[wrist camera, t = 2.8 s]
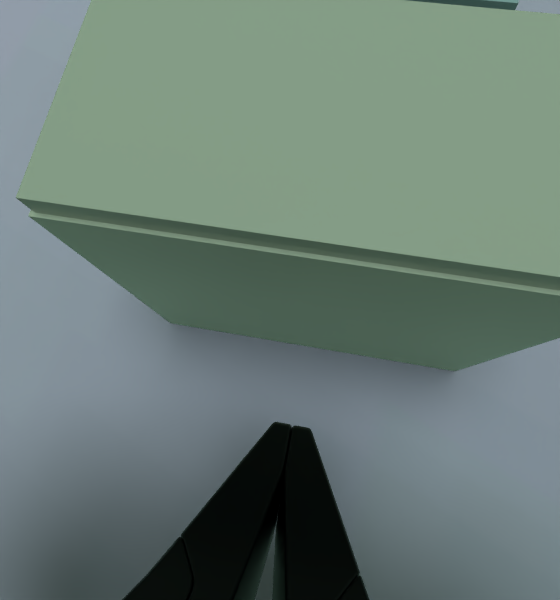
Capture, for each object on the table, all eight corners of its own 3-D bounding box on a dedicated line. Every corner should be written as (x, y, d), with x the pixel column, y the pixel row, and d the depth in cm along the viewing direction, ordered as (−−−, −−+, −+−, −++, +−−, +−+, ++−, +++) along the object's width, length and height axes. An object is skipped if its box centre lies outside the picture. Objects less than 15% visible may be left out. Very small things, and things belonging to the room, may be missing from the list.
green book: (454, 371, 17) (677, 300, 7) (170, 323, 18) (8, 201, 8) (463, 237, 19) (657, 19, 9) (201, 200, 20) (99, -32, 10)
